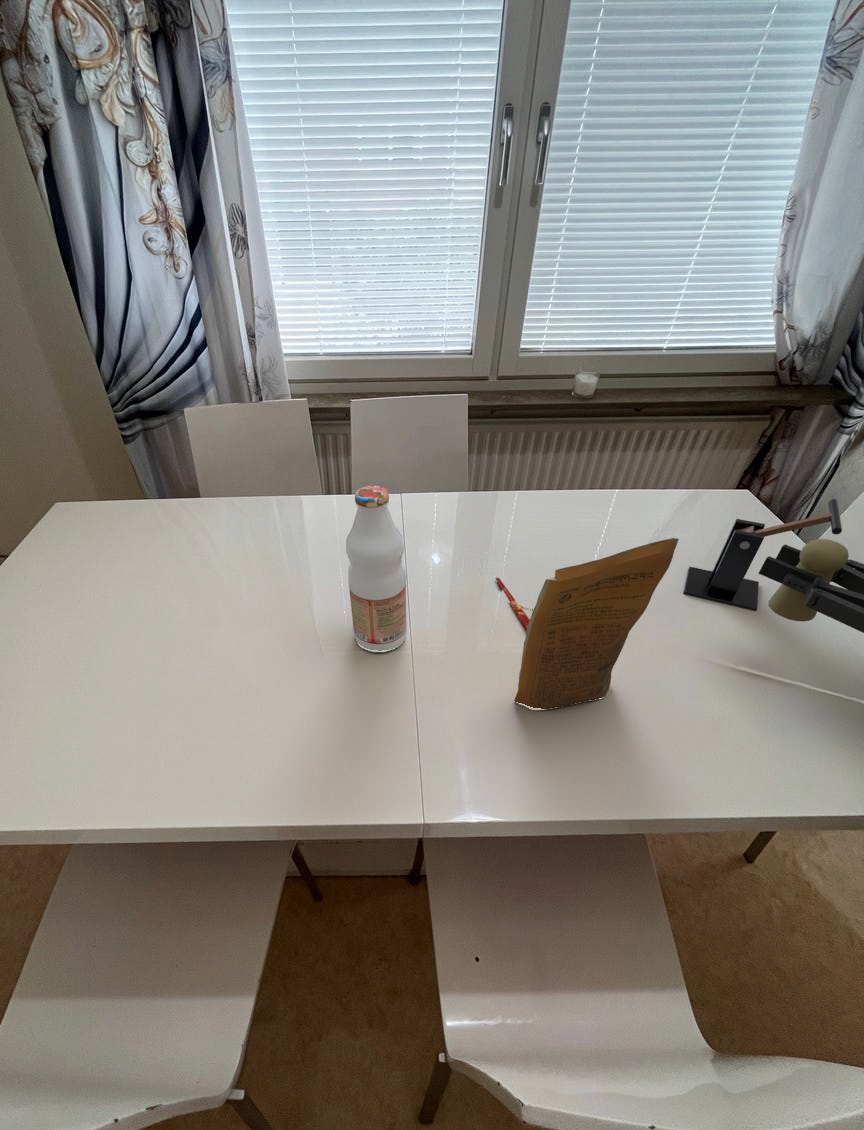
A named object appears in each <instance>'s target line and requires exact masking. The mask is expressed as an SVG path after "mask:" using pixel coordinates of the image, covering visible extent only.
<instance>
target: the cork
mask: <svg viewBox="0 0 864 1130" xmlns="http://www.w3.org/2000/svg"><path fill="white" fill-rule="evenodd" d="M800 550H801V552H800V562H799V564H798V565H797V566H796V567H797V568H799V569H802V570H804V571H807V572H808V573H811V574H814V575H816V576H822V577H823V578H822V580H821V582H824V583H828V584H831V582H830V581H831V579H832V577H833V574H834V572H835V571H838V570H840V569H841V568H842V567H843V566H844V565H845V563H846V562H847V560H849V558H850V557H849V556H850V555H849V550H848V548H847V547H846V546H845V545H843V544H842V543H840V542H838V541H836V540H831V539H827V538H816V539H812V540H810V541H808V542H807V543H805V545H804V546H803V547H802V548H801V549H800ZM805 602H806V597H805V594H803V593H801V592H799V591H797V590H794V589H792V588H790V587H787V586H785V585H783V584H780V586H779V587H778V588H777V590H776V591H775V592H774V594H773V595H772V596H771V597H770V598H769V600H768V604H767V605H768V607H769V608H770V610H771V611H772V612H773V613H775V614H776V615H777V616H779V617H781V618H783V619H787V620H789V621H793V622H810V621H812V620H813V619H815V617H816V615H817V613H818V612H817V611H815V610H813V609H811V608H809V607H807V606H805V605H804V603H805ZM817 603H818V602H817Z"/></svg>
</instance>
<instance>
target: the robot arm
mask: <svg viewBox="0 0 864 1130" xmlns="http://www.w3.org/2000/svg"><path fill="white" fill-rule="evenodd" d="M801 550H802V549H798V548H795V547H793V546H791V545H788V544H786V543H784V544H783V545H782V546H781V548H780V550H779V552H778V554H777V556H776V557H775V558H774V557H773V556H770V555H768V556H767V557H766V558H765V560H764V562H763V564H762V565H761V567H760V569H759V571H758V573H757V574H758V575H761V576H763V577H765V578H766V579H767V578H768V579H770V580H772V581H775V582H776V583H779V584H780V585H782V584H783V585H785V586H787V587H790V588H792V589H794V590H797V591H799V592H801V593H803V594H805V597H806V602H805V603H804V605H805V606H807V607H809V608H811V609H813V610H815V611H817V613H820V614H822V615H824V616H827V617H828V618H831V619H832V620H835V621H837V622H839V623H840V624H843V625H845V626H848V627H850V628H852V629H854V630H856V631H858V632H861V633H863V634H864V563H862V562H860V561H856V560H854V559H848V560H847V562H846V563H845V565H844V566H843V567H842V568H841V569H840V570H838V571H835V572H834V574H833V577H832V579H831V581H830V583H829V584H828V583H824V582H821V580H822V578H823V577H822V576H816V575H814V574H811V573H808V572H807V571H804V570H802V569H799V568H797V567H796V566H797V565H798V564H799V562H800V552H801ZM831 583H834V584H835V585H834V584H831ZM837 585H838V586H837ZM817 602H818V603H817Z"/></svg>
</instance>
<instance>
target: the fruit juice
mask: <svg viewBox="0 0 864 1130" xmlns="http://www.w3.org/2000/svg"><path fill="white" fill-rule="evenodd" d="M354 501H355V506H356V507H357V509H356V513H355V516H354V520H353V523H352V527H351V530H349V532H348V534H347V536H346V540H345V552H346V556H347V558H348V561H349V565H348V569H347V582H348V589H349V591H348V592H349V601H350V609H351V618H352V629H353V636H354V640H355V639H356V640H355V642H356V641H357V642H358V643H359V644H360V645H361V646H363V647H364V648H367V649H370V650H378V651H382V650H389V649H393V648H396V647H397V646H399V645H401V644H402V645H403V643H404V642H405V640H406V638H407V632H408V631H407V628H408V627H407V626H408V625H407V575H406V567H405V565H404V564H405V563H404V562H403V560H402V558H403V556H404V552H405V541H404V537H403V534H402V532H401V530H400V529H399V528H398V527H397V526H396V524H395V522H394V520H393V517H392V515H391V512H390V509H389V507H388V505H389V503H390V494H389V491H388V489H386V487H383V486H381V485H366V486H363V487H360V488H359V489H357V490H356V491H355V494H354ZM403 641H404V642H403ZM357 642H356V643H357ZM402 642H403V643H402ZM402 645H401V646H402Z"/></svg>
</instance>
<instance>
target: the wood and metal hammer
mask: <svg viewBox="0 0 864 1130" xmlns="http://www.w3.org/2000/svg"><path fill="white" fill-rule="evenodd" d="M838 502H839V501H838V499H837V498H836V499H835V498H832V499H830V500H828V501H827V506H828V513H824V514H820V515H815V516H811V517H807V518H803V519H798V520H795V521H791V522H790V521H789V522H787V523H782V524H778V525H774V526H770V527H766V528H765V527H764V529H761V530H756V531H755V529H754V526H751V527H747V528H743V529H739V530H740V531H745V532H750V533H755V534H761V535H764V538H765V537H769V536H774V535H779V534H782V533H783V534H784V533H787V532H791V531H796V530H800V529H804V528H808V527H813V526H818V525H820V524H821V525H822V524H825V523H830V529H831V534H833V535H840V534H841V533H842V532H843V527H842V522H841V514H840V507H839V503H838Z"/></svg>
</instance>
